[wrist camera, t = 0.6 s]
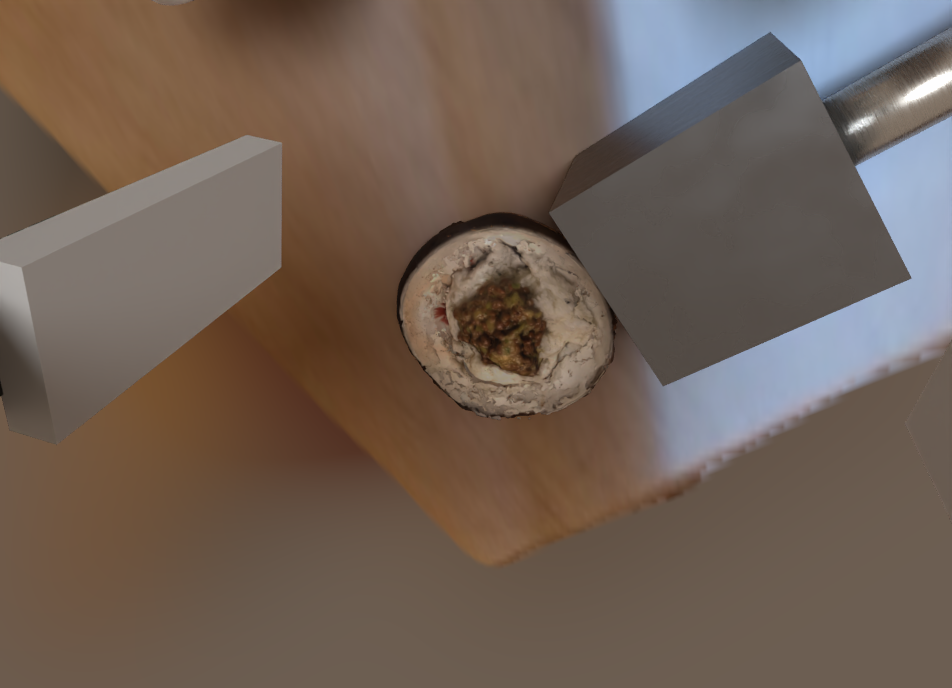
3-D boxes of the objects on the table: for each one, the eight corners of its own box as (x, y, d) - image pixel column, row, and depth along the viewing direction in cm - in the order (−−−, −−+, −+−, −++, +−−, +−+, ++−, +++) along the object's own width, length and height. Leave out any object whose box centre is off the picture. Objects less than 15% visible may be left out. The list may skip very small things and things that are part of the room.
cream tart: (345, 233, 42) (314, 259, 38) (591, 146, 36) (582, 167, 32) (445, 437, 47) (426, 477, 43) (673, 390, 41) (673, 431, 38)
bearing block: (665, 297, 38) (663, 386, 31) (575, 155, 36) (548, 212, 28) (857, 202, 34) (911, 278, 26) (770, 32, 31) (801, 60, 24)
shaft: (763, 224, 35) (779, 275, 29) (700, 110, 33) (704, 143, 28) (1109, 47, 28) (1212, 71, 23) (1053, -106, 27) (1149, -118, 21)
